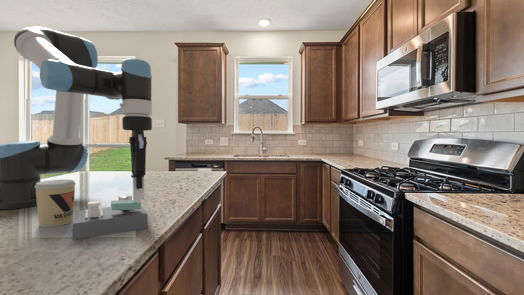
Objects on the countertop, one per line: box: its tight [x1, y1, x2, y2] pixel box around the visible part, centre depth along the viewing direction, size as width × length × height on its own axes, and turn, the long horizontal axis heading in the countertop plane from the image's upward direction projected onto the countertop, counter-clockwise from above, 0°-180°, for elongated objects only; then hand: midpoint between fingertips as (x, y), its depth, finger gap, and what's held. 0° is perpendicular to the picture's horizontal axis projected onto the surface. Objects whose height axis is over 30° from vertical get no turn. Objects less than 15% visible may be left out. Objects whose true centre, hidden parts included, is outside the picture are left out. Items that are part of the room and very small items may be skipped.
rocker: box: [110, 199, 142, 210], centre depth 74 cm, size 4×7×2 cm, turn 123°
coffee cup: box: [35, 179, 76, 228], centre depth 78 cm, size 9×9×12 cm
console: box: [72, 205, 149, 241], centre depth 75 cm, size 13×17×5 cm
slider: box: [87, 200, 102, 218], centre depth 70 cm, size 3×3×4 cm
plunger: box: [118, 195, 133, 200], centre depth 80 cm, size 4×4×3 cm
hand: (138, 199), depth 76 cm, fingers closed
